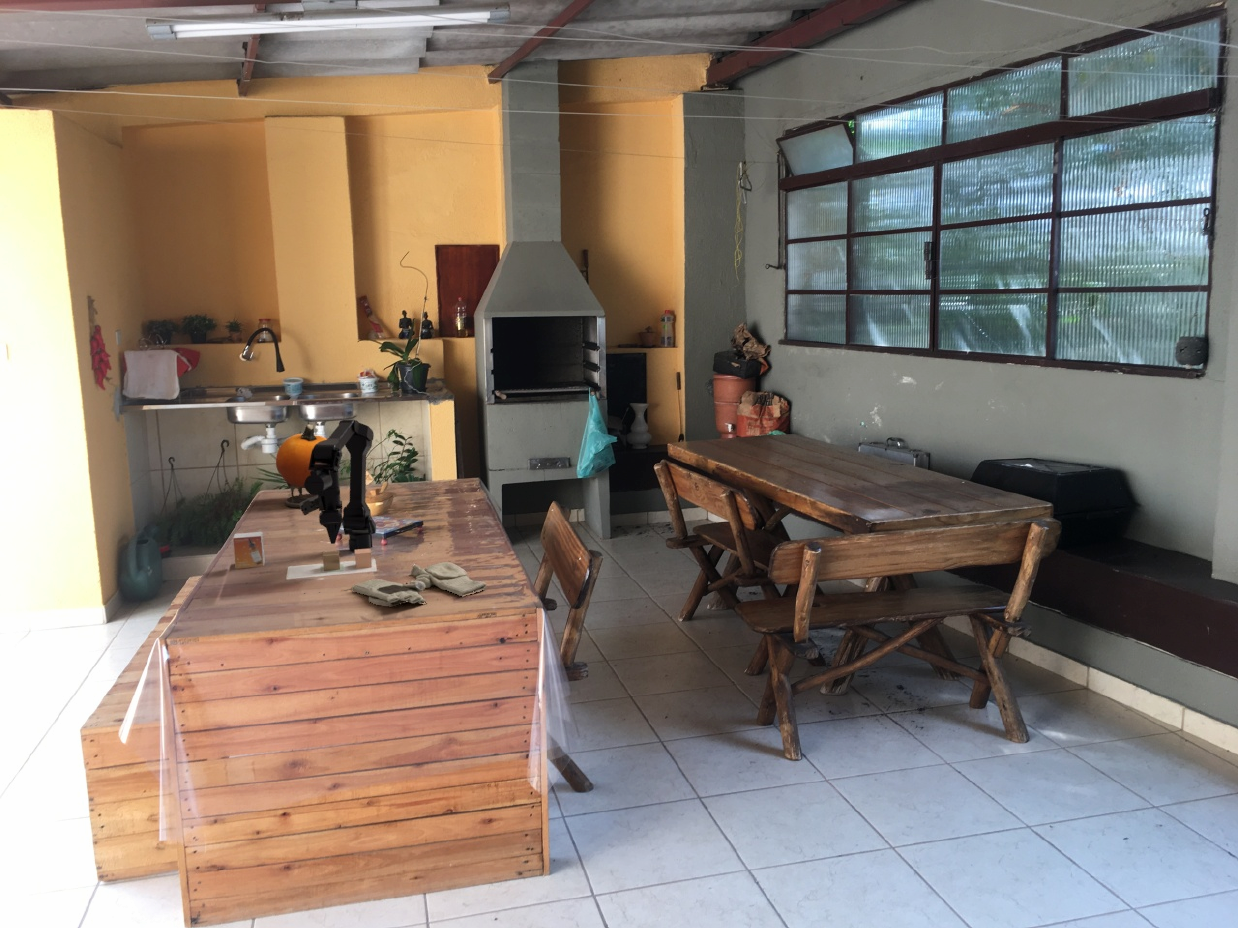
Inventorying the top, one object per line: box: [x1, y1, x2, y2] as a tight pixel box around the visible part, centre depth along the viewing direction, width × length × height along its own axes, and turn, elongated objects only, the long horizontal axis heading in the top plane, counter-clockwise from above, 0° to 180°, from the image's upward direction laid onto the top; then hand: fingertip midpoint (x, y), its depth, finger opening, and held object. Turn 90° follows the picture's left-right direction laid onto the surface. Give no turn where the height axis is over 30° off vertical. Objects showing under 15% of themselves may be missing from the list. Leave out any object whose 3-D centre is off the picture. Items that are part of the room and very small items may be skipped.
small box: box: [232, 531, 266, 570], centre depth 304 cm, size 8×6×10 cm
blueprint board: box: [285, 558, 378, 580], centre depth 300 cm, size 25×13×1 cm, turn 105°
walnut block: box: [322, 550, 341, 571], centre depth 299 cm, size 4×4×4 cm
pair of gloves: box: [351, 561, 487, 608], centre depth 282 cm, size 30×26×5 cm
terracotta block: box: [354, 549, 372, 569], centre depth 301 cm, size 4×4×4 cm
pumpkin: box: [275, 424, 328, 509], centre depth 386 cm, size 22×22×30 cm
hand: (333, 539), depth 298 cm, fingers open, 9 cm apart
